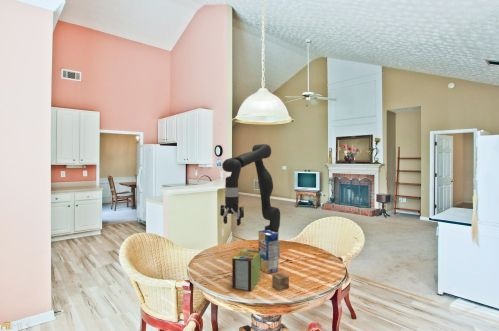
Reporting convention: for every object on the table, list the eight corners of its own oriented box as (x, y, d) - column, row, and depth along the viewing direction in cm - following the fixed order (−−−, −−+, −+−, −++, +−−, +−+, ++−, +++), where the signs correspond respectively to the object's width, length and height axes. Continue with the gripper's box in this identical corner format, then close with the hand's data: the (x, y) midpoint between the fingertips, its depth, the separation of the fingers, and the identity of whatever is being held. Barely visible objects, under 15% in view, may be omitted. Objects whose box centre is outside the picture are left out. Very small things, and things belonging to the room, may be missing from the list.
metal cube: (281, 283, 147) (281, 272, 147) (288, 288, 142) (288, 276, 142) (272, 286, 144) (272, 274, 144) (279, 291, 139) (279, 279, 139)
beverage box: (268, 274, 159) (268, 235, 159) (258, 267, 169) (258, 230, 168) (278, 271, 162) (278, 233, 162) (267, 265, 172) (268, 229, 171)
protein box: (260, 279, 152) (260, 250, 152) (251, 291, 138) (251, 260, 138) (242, 276, 156) (242, 248, 156) (231, 288, 141) (231, 257, 141)
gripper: (246, 195, 156) (246, 224, 156) (225, 193, 163) (225, 221, 163) (239, 197, 149) (239, 227, 150) (217, 195, 156) (217, 224, 157)
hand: (231, 224), depth 156 cm, fingers open, 8 cm apart
